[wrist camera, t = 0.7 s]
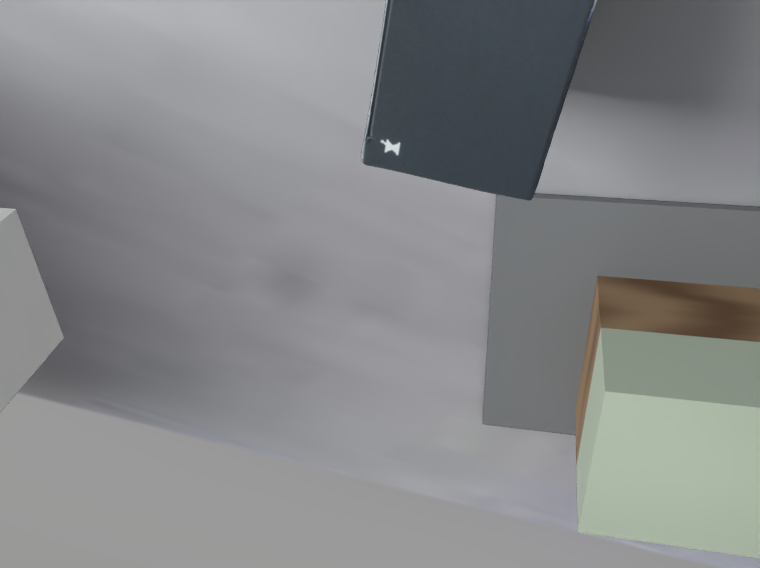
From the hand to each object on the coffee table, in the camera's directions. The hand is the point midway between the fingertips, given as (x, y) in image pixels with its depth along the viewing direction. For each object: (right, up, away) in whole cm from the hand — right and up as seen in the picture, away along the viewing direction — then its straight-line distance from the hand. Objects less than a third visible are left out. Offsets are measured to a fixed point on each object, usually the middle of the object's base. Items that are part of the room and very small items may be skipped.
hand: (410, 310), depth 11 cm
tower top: (+14, -6, +22) cm, 27 cm away
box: (+4, +13, +17) cm, 22 cm away
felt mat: (+13, -2, +25) cm, 28 cm away
